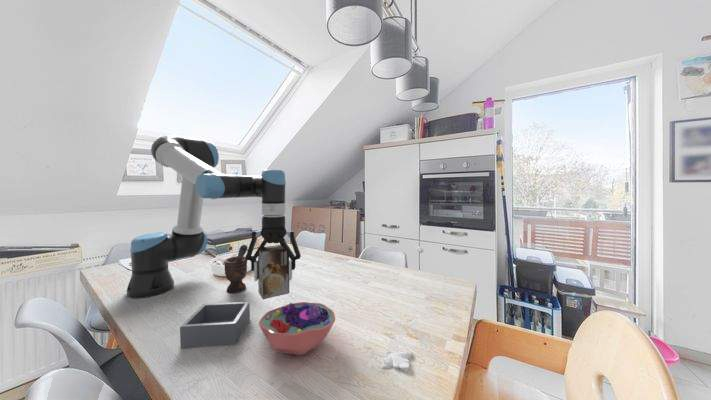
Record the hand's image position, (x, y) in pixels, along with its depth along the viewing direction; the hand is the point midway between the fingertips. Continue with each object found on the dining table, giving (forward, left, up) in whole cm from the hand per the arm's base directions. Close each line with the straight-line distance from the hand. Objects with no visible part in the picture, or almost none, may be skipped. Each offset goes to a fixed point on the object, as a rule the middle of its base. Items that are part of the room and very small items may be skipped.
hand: (273, 279), depth 86 cm
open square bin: (-14, -11, -11) cm, 21 cm away
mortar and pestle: (-18, +20, -12) cm, 29 cm away
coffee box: (0, 0, -5) cm, 5 cm away
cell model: (+10, -20, -12) cm, 25 cm away
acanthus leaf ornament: (+35, -29, -12) cm, 47 cm away
